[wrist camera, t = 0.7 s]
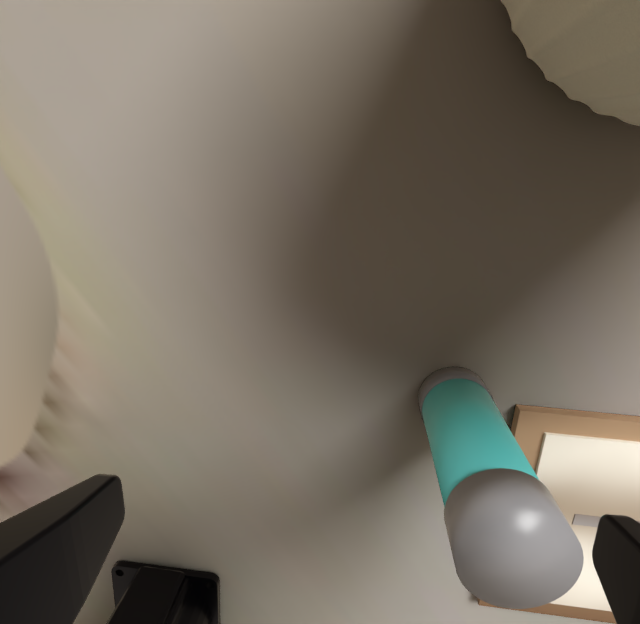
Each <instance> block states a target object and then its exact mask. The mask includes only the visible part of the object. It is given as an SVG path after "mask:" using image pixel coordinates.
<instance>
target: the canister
mask: <svg viewBox="0 0 640 624" xmlns="http://www.w3.org/2000/svg"><path fill="white" fill-rule="evenodd" d="M501 2H502V3H503V4H504V6H505V7H506V9H507V11H508V14H509V16H510V20H511V28H512V31H513V33H515V34H516V35H517V36H518V38H519V39H520V41H521V42H522V44H523V46H524V48H525V50H526V55H527V58H529V59H532V60H533V61H534V62H535V63H536V64H537V65H538V66H539V67H540V69H541V70H542V71H543V73H544V75H545V79H546V80H548V81H550V82H553V83H555V84H556V85H557V86H559V87H560V88H561V89H562V90H563V91H564V92H565V93H566V95H567V97H568V98H570V99H571V100H575V101H580V102H582V103H584V104H586V105H588V106H589V107H590V108H591V110H592V111H594V112H595V113H597V114H601V115H606V116H614V117H617V118H618V119H620V120H622V121H623V122H625V123H627V124H632V125H637V126H640V0H501Z"/></svg>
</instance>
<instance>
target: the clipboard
mask: <svg viewBox="0 0 640 624" xmlns="http://www.w3.org/2000/svg"><path fill="white" fill-rule="evenodd" d="M511 432H512V434H513V436H514V437H515V439H516V441H517V443H518V444H519V446H520V448H521V450H522V451H523V453H524V455H525V456H526V458H527V460H528V462H529V463H530V465H531V467H532V468H533V470H534V472H535V474H536V475H537V477H538V479H539V480H540V481H541V482H542V483H543V484H544V485H545V486H546V487H547V489H548V490H549V491H550V493H551V494H552V496H553V498H554V499H555V501H556V503H557V504H558V506H559V508H560V510H561V511H562V513H563V515H564V516H565V518H566V520H567V521H568V523H569V525H570V526H571V528H572V530H573V531H574V533H575V535H576V536H577V538H578V540H579V542H580V544H581V547H582V550H583V556H584V560H583V568H582V571H581V574H580V576H579V578H578V580H577V582H576V583H575V584H574V585H573V587H572V588H571V589H570V590H569V591H568V592H567V593H565V594H564V595H563V596H561V597H560V598H558V599H556V600H555V601H552V602H550V603H548V604H545V605H542V606H539V607H534V608H527V609H512V610H519V611H527V612H534V613H541V614H549V615H556V616H564V617H571V618H578V619H586V620H593V621H601V622H608V623H615V624H617V623H616V621H615V618H614V616H613V613H612V611H611V608H610V605H609V603H608V600H607V598H606V595H605V593H604V590H603V588H602V585H601V582H600V580H599V577H598V575H597V572H596V570H595V567H594V564H593V559H592V549H593V545H594V540H595V536H596V532H597V528H598V523H599V520H600V518H601V517H602V516H603V515H605V514H612V515H624V516H629V517H631V518H633V519H634V520H636V521H637V522H639V523H640V416H631V415H620V414H610V413H600V412H590V411H579V410H569V409H559V408H548V407H538V406H528V405H518V404H516V407H515V412H514V416H513V421H512V426H511ZM477 600H478V604H479V605H482V606H490V607H497V608H503V607H498V606H494V605H491V604H489V603H486V602H484V601H482V600H480V599H479V598H477ZM504 609H509V608H504Z"/></svg>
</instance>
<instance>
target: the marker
mask: <svg viewBox="0 0 640 624" xmlns="http://www.w3.org/2000/svg"><path fill="white" fill-rule="evenodd" d="M418 403H419V407H420V411H421V416H422V419H423V422H424V424H425V428H426V432H427V436H428V440H429V444H430V448H431V452H432V457H433V461H434V465H435V469H436V473H437V477H438V482H439V486H440V490H441V494H442V498H443V502H444V506H445V508H444V520H445V524H446V529H447V533H448V537H449V542H450V546H451V550H452V554H453V559H454V563H455V567H456V572H457V574H458V577H459V579H460V581H461V582H462V584H463V585H464V586H465V588H466V589H467V590H468V591H469V592H470V593H472V594H473V595H474V596H476V597H477V598H479V599H480V600H482V601H484V602H486V603H489V604H491V605H494V606H498V607H503V608H509V609H527V608H534V607H539V606H542V605H545V604H548V603H550V602H552V601H555V600H556V599H558V598H560V597H561V596H563V595H564V594H565V593H567V592H568V591H569V590H570V589H571V588H572V587H573V585H574V584H575V583H576V582H577V580H578V578H579V576H580V574H581V571H582V568H583V560H584V556H583V550H582V547H581V544H580V542H579V540H578V538H577V536H576V535H575V533H574V531H573V530H572V528H571V526H570V525H569V523H568V521H567V520H566V518H565V516H564V515H563V513H562V511H561V510H560V508H559V506H558V504H557V503H556V501H555V499H554V498H553V496H552V494H551V493H550V491H549V490H548V489H547V487H546V486H545V485H544V484H543V483H542V482H541V481H540V480H539V479H538V477H537V475H536V474H535V472H534V470H533V468H532V467H531V465H530V463H529V462H528V460H527V458H526V456H525V455H524V453H523V451H522V450H521V448H520V446H519V444H518V443H517V441H516V439H515V437H514V436H513V434H512V432H511V431H510V429H509V427H508V425H507V424H506V422H505V420H504V419H503V417H502V415H501V413H500V412H499V410H498V408H497V407H496V405H495V403H494V401H493V398H492V396H491V394H490V392H489V391H488V389H487V387H486V385H485V384H484V382H483V381H482V379H481V378H480V377H479V376H478V375H477V374H475V373H474V372H472V371H470V370H468V369H465V368H461V367H447V368H443V369H440V370H437V371H435V372H434V373H432V374H431V375H429V376H428V377H427V378H426V379H425V381H424V382H423V383H422V385H421V387H420V390H419V394H418Z"/></svg>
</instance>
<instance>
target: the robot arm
mask: <svg viewBox="0 0 640 624" xmlns="http://www.w3.org/2000/svg"><path fill="white" fill-rule="evenodd" d="M124 515H125V507H124V499H123V491H122V484H121V480H120V478H119V477H118V476H116V475H106V474H98V475H95V476H93V477H91V478H89V479H87V480H85V481H83V482H81V483H79V484H77V485H75V486H73V487H71V488H69V489H67V490H65V491H63V492H61V493H59V494H57V495H55V496H53V497H51V498H49V499H47V500H45V501H43V502H41V503H39V504H37V505H35V506H33V507H31V508H29V509H27V510H25V511H23V512H21V513H19V514H17V515H15V516H13V517H11V518H9V519H7V520H5V521H3V522H1V523H0V624H73V622H74V620H75V618H76V617H77V615H78V613H79V611H80V610H81V608H82V606H83V604H84V602H85V601H86V599H87V597H88V595H89V593H90V591H91V589H92V586H93V584H94V582H95V580H96V578H97V576H98V574H99V572H100V570H101V567H102V565H103V563H104V561H105V559H106V557H107V555H108V553H109V551H110V549H111V546H112V544H113V542H114V540H115V538H116V536H117V534H118V532H119V530H120V527H121V525H122V523H123V520H124ZM592 559H593V564H594V567H595V570H596V572H597V575H598V577H599V580H600V582H601V585H602V588H603V590H604V593H605V595H606V598H607V600H608V603H609V605H610V608H611V611H612V613H613V616H614V618H615V621H616V623H617V624H640V523H639V522H637V521H636V520H634V519H633V518H631V517H629V516H624V515H612V514H605V515H603V516H602V517H601V518H600V520H599V523H598V528H597V532H596V536H595V540H594V545H593V549H592ZM112 580H113V589H114V599H115V610H114V611H113V613H112V615H111V616H110V618H109V620H108V621H107V623H106V624H220V580H219V577H218V576H217V575H216V574H214V573H209V572H202V571H195V570H187V569H180V568H173V567H165V566H158V565H151V564H143V563H136V562H128V561H118V562H117V563H116V564H115V565H114V567H113V569H112Z"/></svg>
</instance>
